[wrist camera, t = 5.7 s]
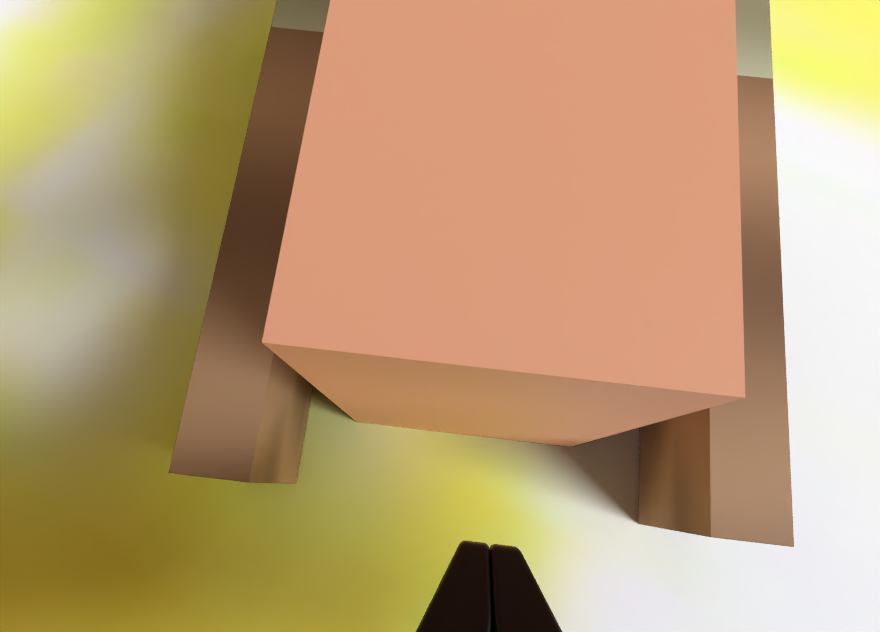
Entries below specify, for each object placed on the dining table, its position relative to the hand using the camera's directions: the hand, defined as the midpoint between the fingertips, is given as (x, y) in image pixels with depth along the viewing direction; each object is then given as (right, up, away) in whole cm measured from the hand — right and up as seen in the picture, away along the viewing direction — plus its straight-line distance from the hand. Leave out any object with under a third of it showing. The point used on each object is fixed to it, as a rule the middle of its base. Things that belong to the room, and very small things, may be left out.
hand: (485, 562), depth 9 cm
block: (+1, +8, +9) cm, 12 cm away
